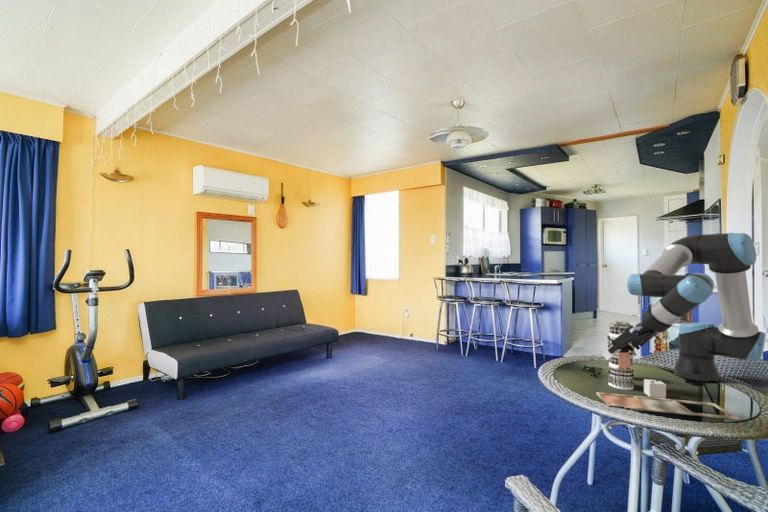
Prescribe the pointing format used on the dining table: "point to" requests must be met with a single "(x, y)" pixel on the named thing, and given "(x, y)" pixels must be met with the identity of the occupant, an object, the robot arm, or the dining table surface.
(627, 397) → the wooden flat rectangular frame
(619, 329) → the decorative candle
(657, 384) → the ivory die
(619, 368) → the grandmother figurine
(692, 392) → the dining table surface
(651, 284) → the robot arm
